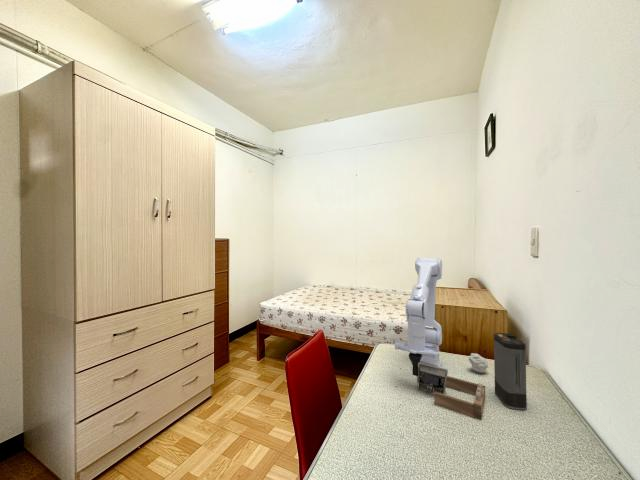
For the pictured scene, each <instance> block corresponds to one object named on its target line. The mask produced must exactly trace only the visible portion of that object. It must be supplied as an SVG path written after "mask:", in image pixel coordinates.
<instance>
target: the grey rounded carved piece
mask: <svg viewBox="0 0 640 480" xmlns="http://www.w3.org/2000/svg"><path fill="white" fill-rule="evenodd" d="M467 358H468V361H469V362H470V363H469V364H471V368H472V369H473V371H475V372H477V373H479V374H482V373H485V372H486V370H487V369H488V367H489V362H488V360H487V359H486V358H485V357H483V356H481V355H480V354H478V353H473V352H471V353H470V355H469V356H468V357H467Z"/></svg>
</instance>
